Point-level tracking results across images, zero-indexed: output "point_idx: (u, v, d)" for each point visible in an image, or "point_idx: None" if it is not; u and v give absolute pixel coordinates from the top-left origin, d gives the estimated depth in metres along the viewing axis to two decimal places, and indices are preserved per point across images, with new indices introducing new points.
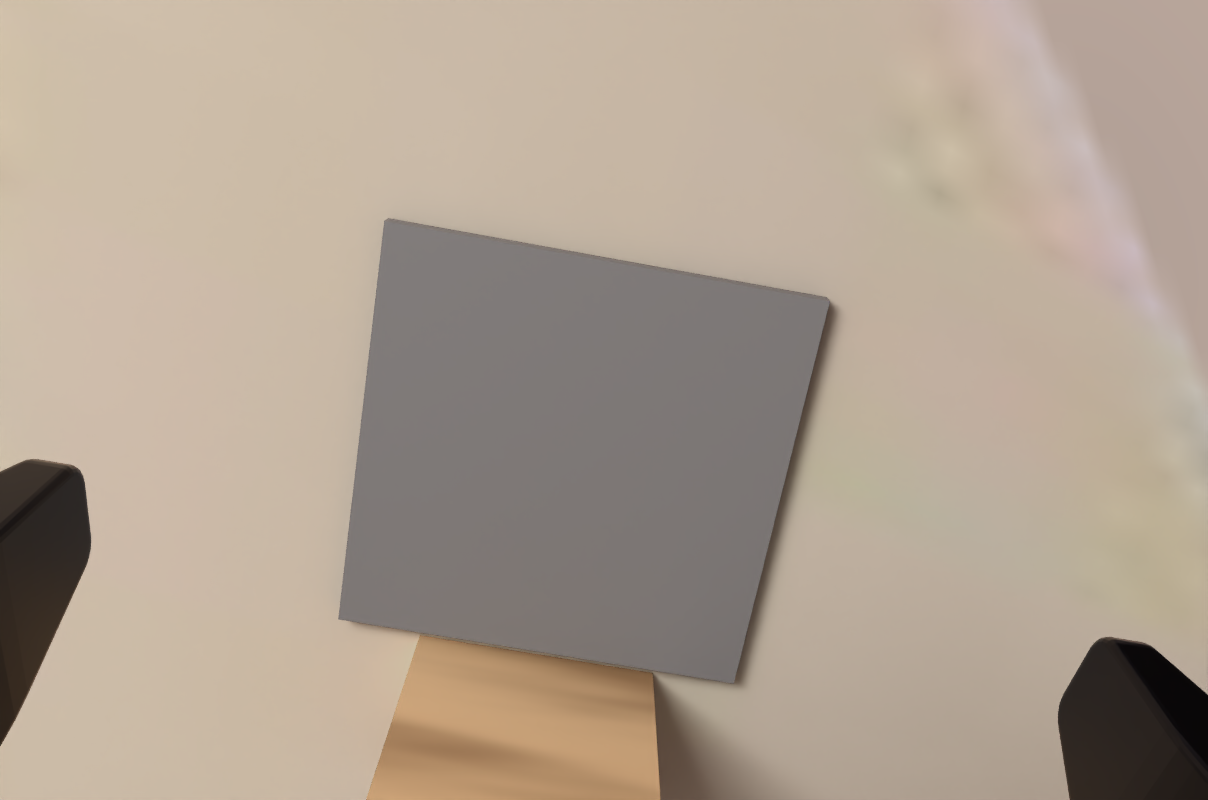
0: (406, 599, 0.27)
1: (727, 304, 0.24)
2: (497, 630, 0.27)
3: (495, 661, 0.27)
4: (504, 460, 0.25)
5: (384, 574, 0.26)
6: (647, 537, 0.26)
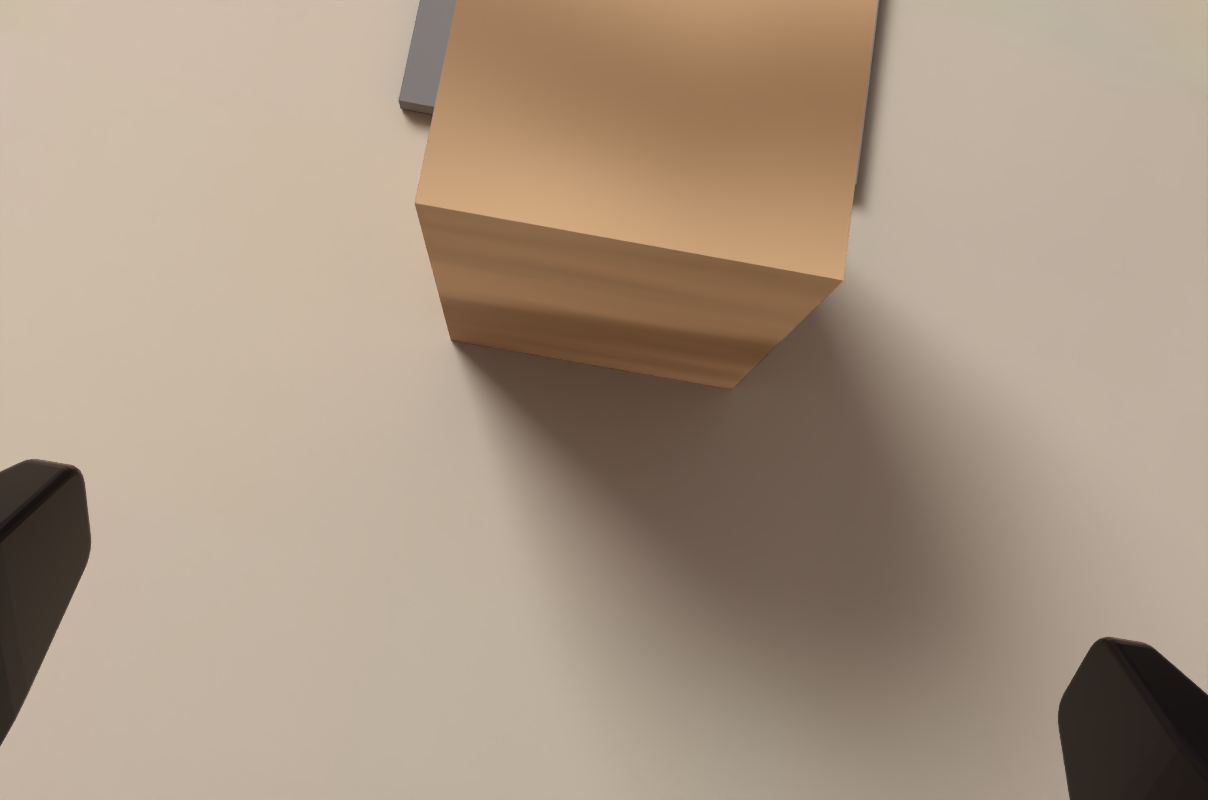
0: None
1: None
2: None
3: None
4: None
5: None
6: None
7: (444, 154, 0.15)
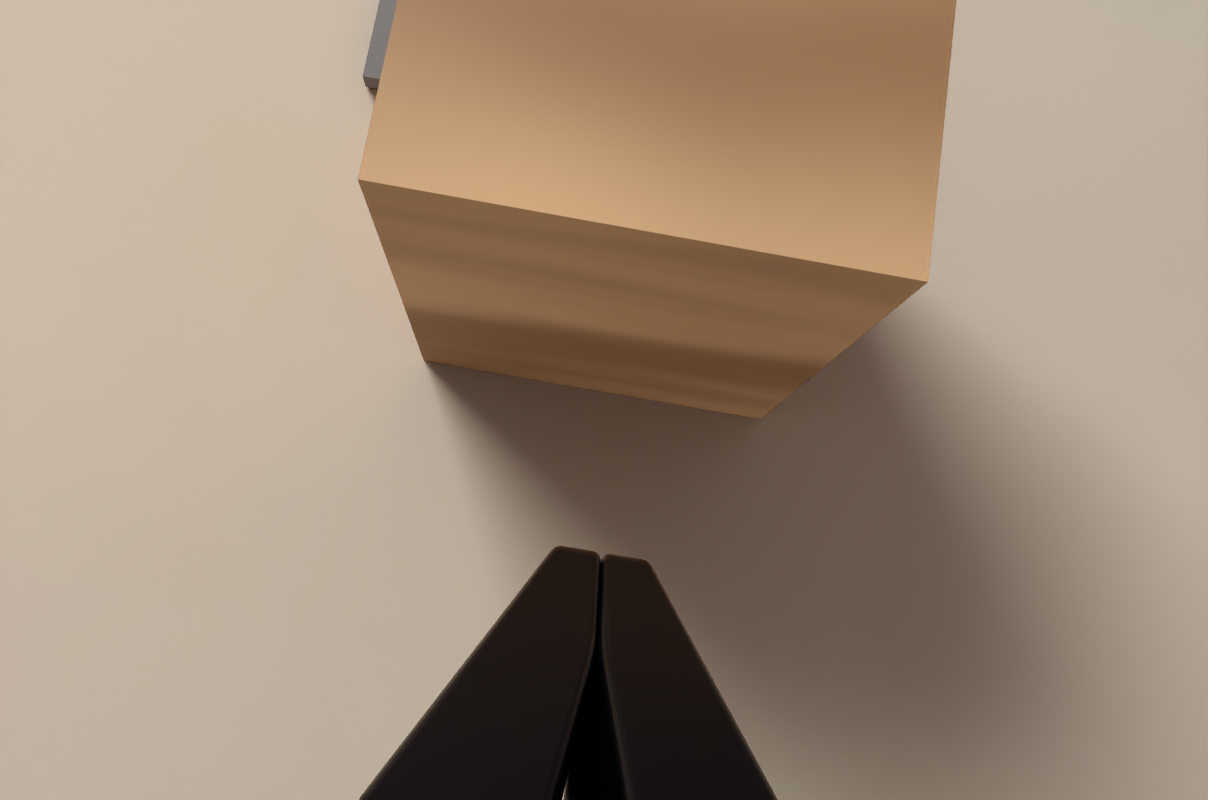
0: None
1: None
2: None
3: None
4: None
5: None
6: None
7: (398, 115, 0.11)
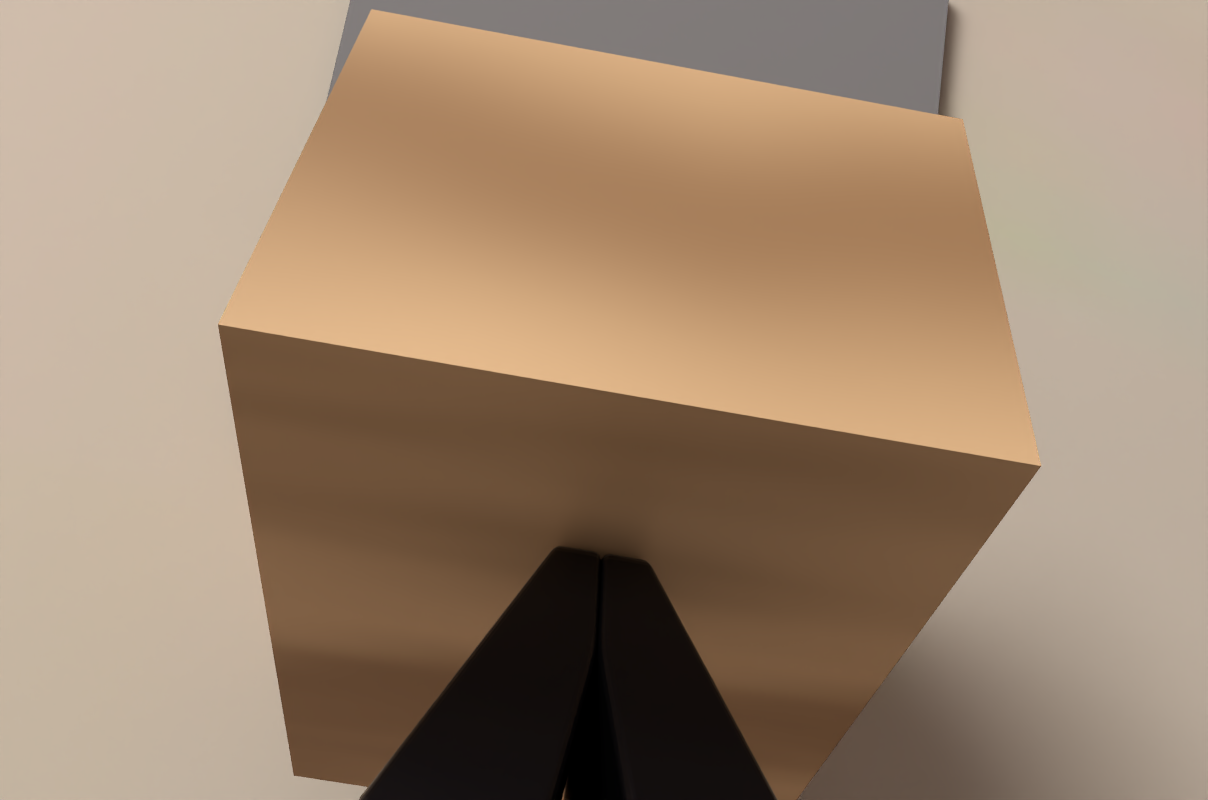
0: None
1: None
2: None
3: None
4: None
5: None
6: None
7: (287, 260, 0.08)
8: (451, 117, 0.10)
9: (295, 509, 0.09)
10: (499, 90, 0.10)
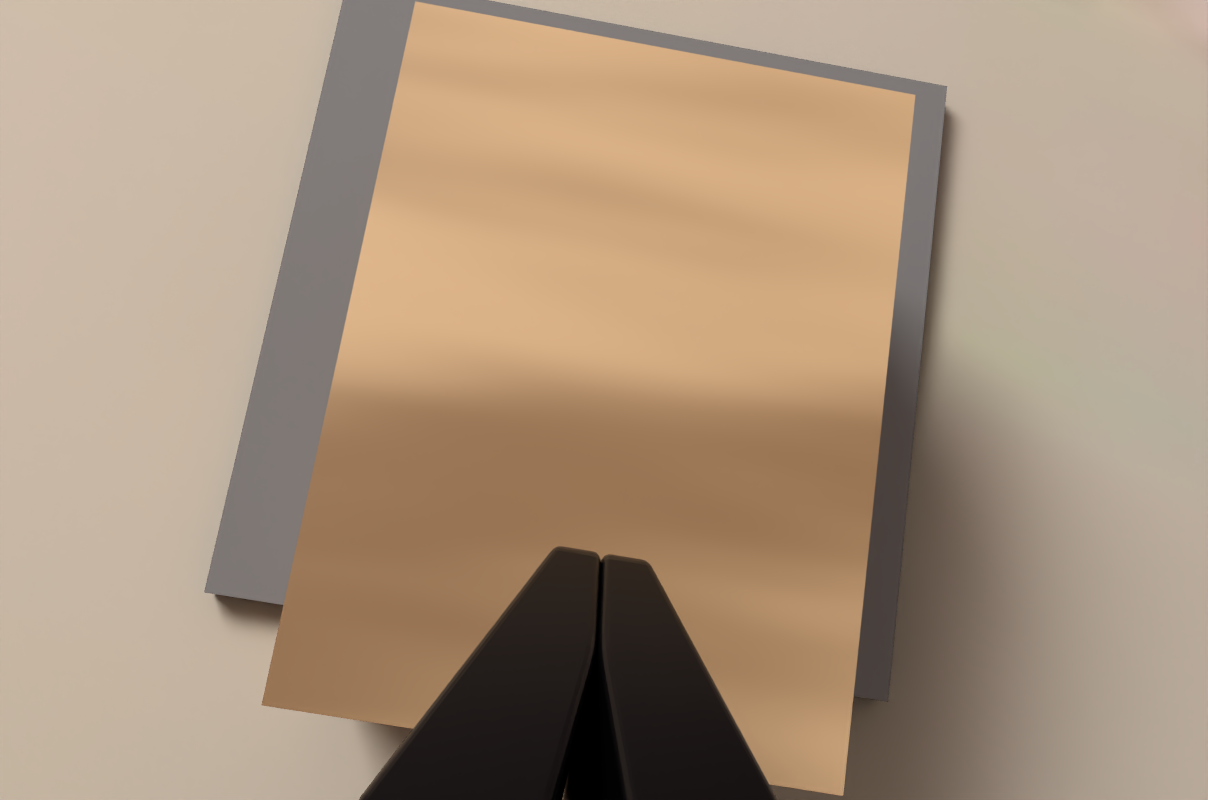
0: None
1: None
2: None
3: None
4: None
5: (295, 504, 0.16)
6: None
7: None
8: None
9: (414, 175, 0.12)
10: None
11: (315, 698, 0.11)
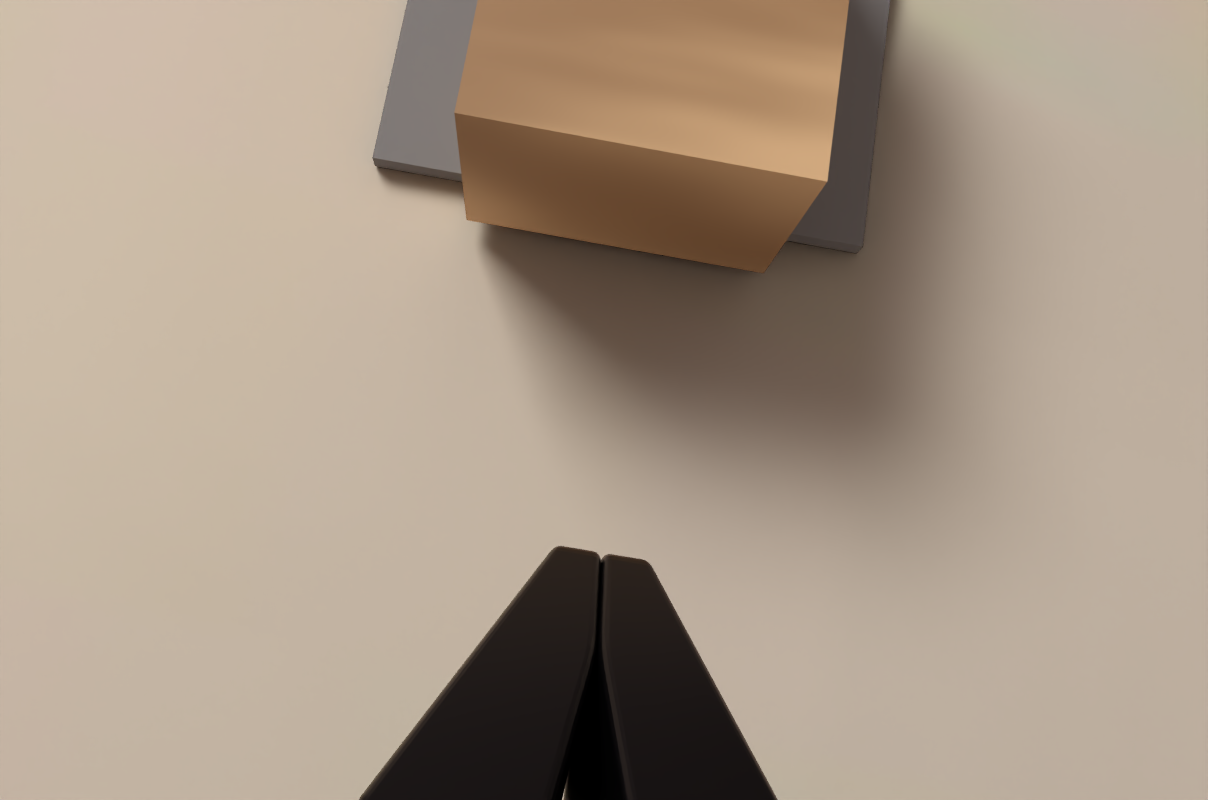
0: None
1: None
2: None
3: None
4: None
5: (435, 101, 0.22)
6: None
7: None
8: None
9: None
10: None
11: (488, 110, 0.17)
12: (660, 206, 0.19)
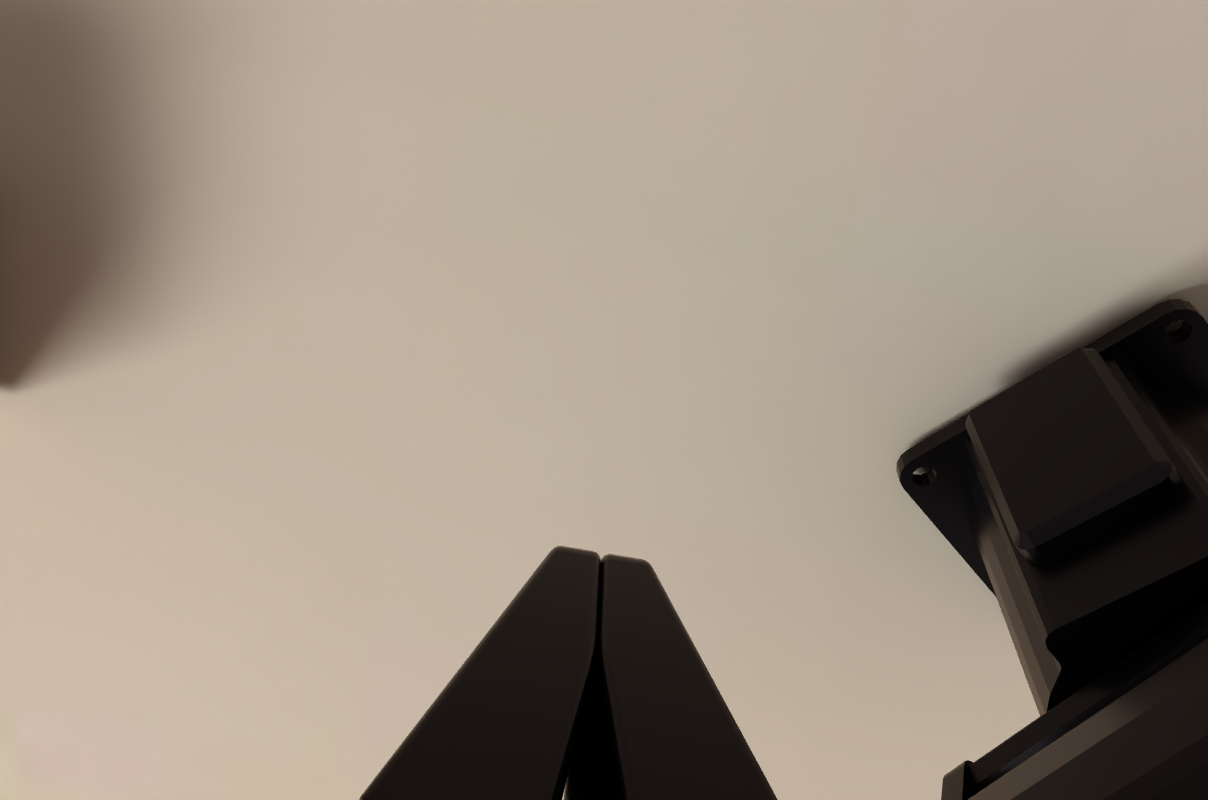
0: None
1: None
2: None
3: None
4: None
5: None
6: None
7: None
8: None
9: None
10: None
11: None
12: None
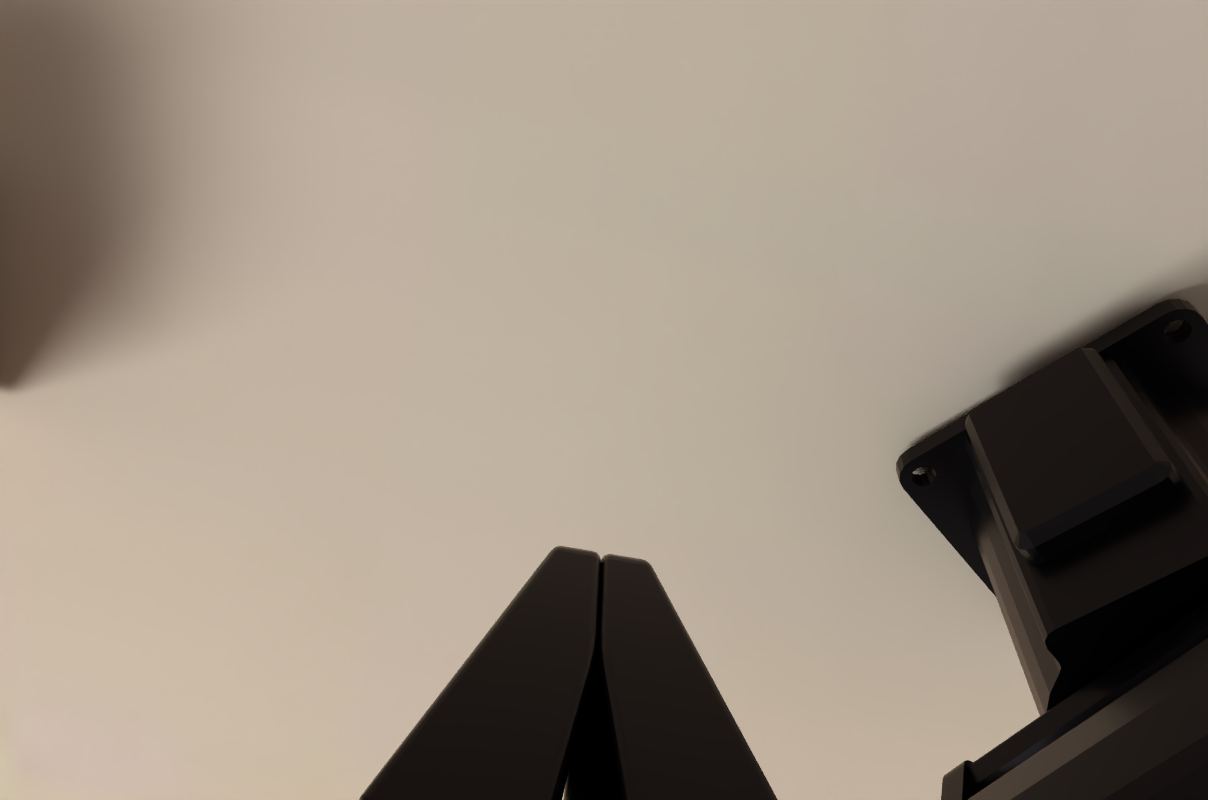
0: None
1: None
2: None
3: None
4: None
5: None
6: None
7: None
8: None
9: None
10: None
11: None
12: None
